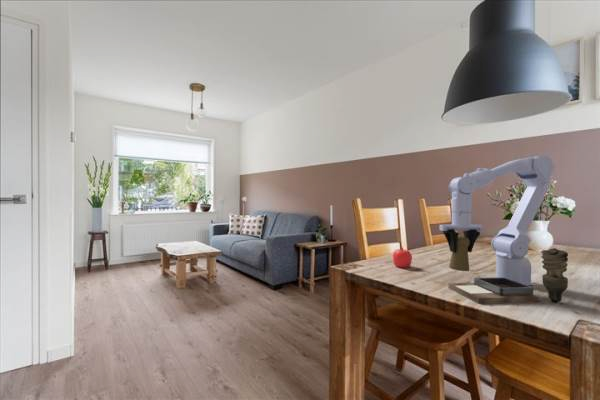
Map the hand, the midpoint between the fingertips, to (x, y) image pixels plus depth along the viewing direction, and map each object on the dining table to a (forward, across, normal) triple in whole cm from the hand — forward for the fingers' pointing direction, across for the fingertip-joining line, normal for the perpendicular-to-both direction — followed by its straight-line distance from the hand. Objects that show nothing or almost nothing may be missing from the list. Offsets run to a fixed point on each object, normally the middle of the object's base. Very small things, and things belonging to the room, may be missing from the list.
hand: (460, 251), depth 95 cm
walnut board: (+10, -1, +12) cm, 16 cm away
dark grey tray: (+9, -5, +12) cm, 16 cm away
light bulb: (+11, -14, +19) cm, 26 cm away
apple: (+11, +10, -22) cm, 26 cm away
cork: (+6, 0, 0) cm, 6 cm away
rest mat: (+9, +5, +12) cm, 16 cm away
